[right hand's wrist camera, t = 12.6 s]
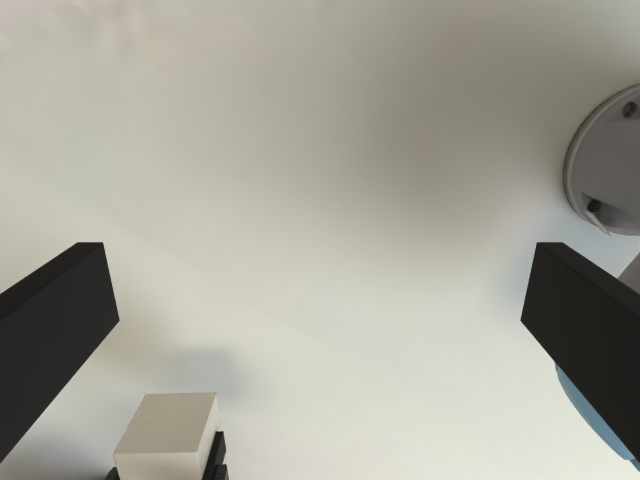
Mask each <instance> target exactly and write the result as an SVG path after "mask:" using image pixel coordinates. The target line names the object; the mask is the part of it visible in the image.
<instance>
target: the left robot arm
mask: <svg viewBox="0 0 640 480" xmlns="http://www.w3.org/2000/svg"><path fill="white" fill-rule="evenodd" d="M225 453H226V446H225V439H224V433H223V431H216V433H215V437H214V440H213V443H212V447H211V450H210V454H209V457H208V460H207V464H206V467H205V471H204V474H203V477H202V480H229V477H228V471H227V466H226V464H223V461H224V457H225ZM105 480H120V477H119V474H118V470H117V467H113V468H112V470H111V471H110V472H109V473H108V475H107V477H106V479H105Z"/></svg>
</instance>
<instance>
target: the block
mask: <svg viewBox="0 0 640 480" xmlns="http://www.w3.org/2000/svg"><path fill="white" fill-rule="evenodd" d="M216 431H222V425H221V419H220V412H219V406H218V399H217V393H181V394H146V395H145V397H144V399H143V400H142V402H141V404H140V406H139V408H138V410H137V411H136V413H135V415H134V417H133V419H132V420H131V422H130V424H129V426H128V428H127V429H126V431H125V433H124V435H123V437H122V438H121V440H120V442H119V444H118V446H117V448H116V449H115V451H114V453H113V457H114V460H115V464H116V467H117V470H118V474H119V477H120V480H202V477H203V474H204V471H205V467H206V464H207V460H208V457H209V454H210V450H211V447H212V443H213V440H214V437H215V433H216ZM225 460H226V453H225V457H224V461H223V464H225Z"/></svg>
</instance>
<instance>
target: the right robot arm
mask: <svg viewBox="0 0 640 480" xmlns="http://www.w3.org/2000/svg"><path fill="white" fill-rule="evenodd" d="M564 187H565V191H566V195H567V197H568V200H569V202H570V204H571V205H572V207H573V208H574V210H575V211H576V212H577V213H578V214H579V215H580V216H581V217H582V218H583V219H585V220H586V221H588V222H590V223H592V224H593V225H595V226H597V227H599V228H600V229H601V230H602V231H603V232H605V233H606V234H608V235H610V234H609V232H608V231H610V232H614V233H618V234H623V235H633V236H640V84H639V85H636V86H633V87H630V88H628V89H626V90H623V91H621V92H620V93H618V94H616V95H614V96H613V97H611V98H610V99H608V100H607V101H605V102H604V103H603V104H601V105H600V106H599V107H598V108H597V109H596V110H595V111H594V112H593V113H592V114H591V115H590V116H589V117H588V118H587V119H586V120H585V122H584V123H583V124H582V126H581V127H580V128H579V130H578V131H577V133H576V135H575V136H574V138H573V140H572V142H571V145H570V147H569V150H568V152H567V156H566V159H565V165H564ZM610 236H611V235H610ZM119 321H120V320H119V316H118V311H117V306H116V301H115V297H114V292H113V287H112V283H111V278H110V273H109V268H108V264H107V259H106V254H105V250H104V245H103V242H77V243H76V244H74V245H73V246H71V247H70V248H69V249H67V250H66V251H64V252H63V253H61V254H60V255H58V256H57V257H55V258H54V259H52V260H51V261H49V262H48V263H46V264H45V265H43V266H42V267H40V268H39V269H37V270H36V271H34V272H33V273H31V274H30V275H28V276H27V277H25V278H24V279H22V280H21V281H19V282H18V283H16V284H15V285H13V286H12V287H10V288H9V289H7V290H6V291H4V292H3V293H1V294H0V463H1V462H2V461H3V460H4V458H5V457H6V456H7V455H8V454H9V452H10V451H11V450H12V449H13V448H14V446H15V445H16V444H17V443H18V442H19V440H20V439H21V438H22V437H23V436H24V434H25V433H26V432H27V431H28V430H29V428H30V427H31V426H32V425H33V424H34V422H35V421H36V420H37V419H38V418H39V416H40V415H41V414H42V413H43V412H44V410H45V409H46V408H47V407H48V406H49V404H50V403H51V402H52V401H53V400H54V398H55V397H56V396H57V395H58V394H59V392H60V391H61V390H62V389H63V388H64V386H65V385H66V384H67V383H68V382H69V381H70V379H71V378H72V377H73V376H74V375H75V373H76V372H77V371H78V370H79V369H80V367H81V366H82V365H83V364H84V363H85V361H86V360H87V359H88V358H89V357H90V355H91V354H92V353H93V352H94V351H95V349H96V348H97V347H98V346H99V345H100V343H101V342H102V341H103V340H104V339H105V337H106V336H107V335H108V334H109V333H110V331H111V330H112V329H113V328H114V327H115V325H116V324H117V323H118V322H119ZM520 321H521V322H522V323H523V324H524V325H525V327H526V328H527V329H528V330H529V331H530V333H531V334H532V335H533V336H534V337H535V339H536V340H537V341H538V342H539V343H540V345H541V346H542V347H543V348H544V349H545V351H546V352H547V353H548V354H549V355H550V357H551V358H552V359H553V360H554V361H555V367H556V371H557V374H558V378H559V381H560V384H561V386H562V388H563V390H564V391H565V393H566V395H567V396H568V398H569V399H570V401H571V402H572V404H573V405H574V407H575V408H576V409H577V411H578V412H579V413H580V415H581V416H582V417H583V418H584V419H585V421H586V422H587V423H588V424H589V425H590V426H591V428H592V429H593V430H594V431H595V432H596V433H597V434H598V435H599V436H600V437H601V438H602V439H603V441H604V442H605V443H606V444H608V445H609V446H610V447H611V448H612V449H613V450H614V451H615V452H616V453H617V454H618V455H619V456H621V457H622V458H623V459H625V460H630V462H631V463H632V464H633V465H634V466H635V467H636V469H637V470H638V471H639V472H640V253H639V254H638V255H637V256H636V258H635V259H634V260H633V261H632V262H631V263H630V264H629V266H628V267H627V268H626V269H625V270H624V271H623V273H622V274H621V275H620V276H619V277H618V278H617V279H616V278H615V277H613V276H612V275H610V274H609V273H607V272H606V271H604V270H603V269H601V268H600V267H598V266H597V265H595V264H594V263H592V262H591V261H589V260H588V259H586V258H585V257H583V256H582V255H580V254H579V253H577V252H576V251H574V250H573V249H571V248H570V247H569V246H567V245H566V244H564V243H563V242H537V245H536V250H535V254H534V259H533V264H532V268H531V273H530V278H529V283H528V287H527V292H526V297H525V301H524V306H523V311H522V316H521V320H520Z"/></svg>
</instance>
